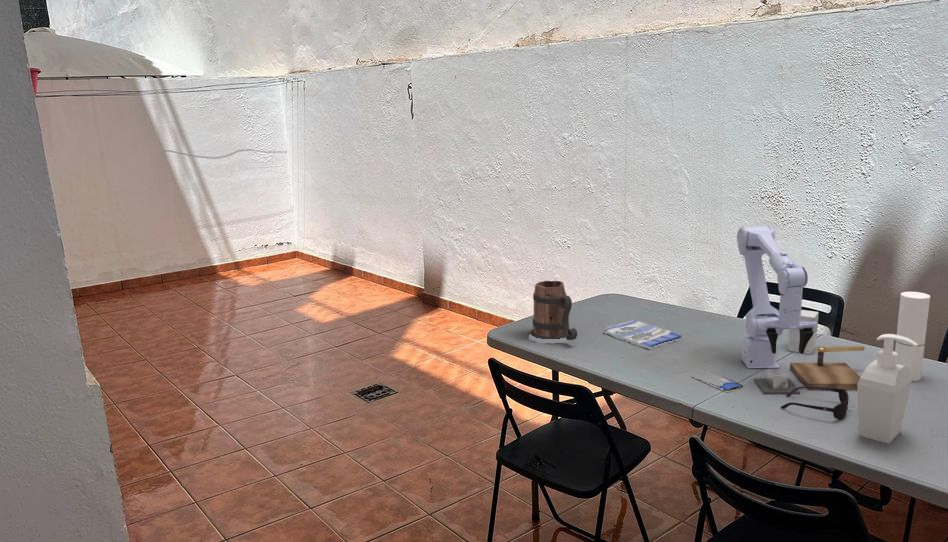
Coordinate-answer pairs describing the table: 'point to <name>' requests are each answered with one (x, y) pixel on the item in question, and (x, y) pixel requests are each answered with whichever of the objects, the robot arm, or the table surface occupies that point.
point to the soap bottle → (884, 393)
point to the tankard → (552, 312)
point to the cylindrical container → (912, 331)
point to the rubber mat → (768, 390)
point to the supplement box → (795, 333)
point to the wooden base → (826, 374)
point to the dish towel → (655, 339)
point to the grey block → (777, 379)
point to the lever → (840, 349)
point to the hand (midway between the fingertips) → (787, 352)
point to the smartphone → (729, 384)
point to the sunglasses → (837, 411)
